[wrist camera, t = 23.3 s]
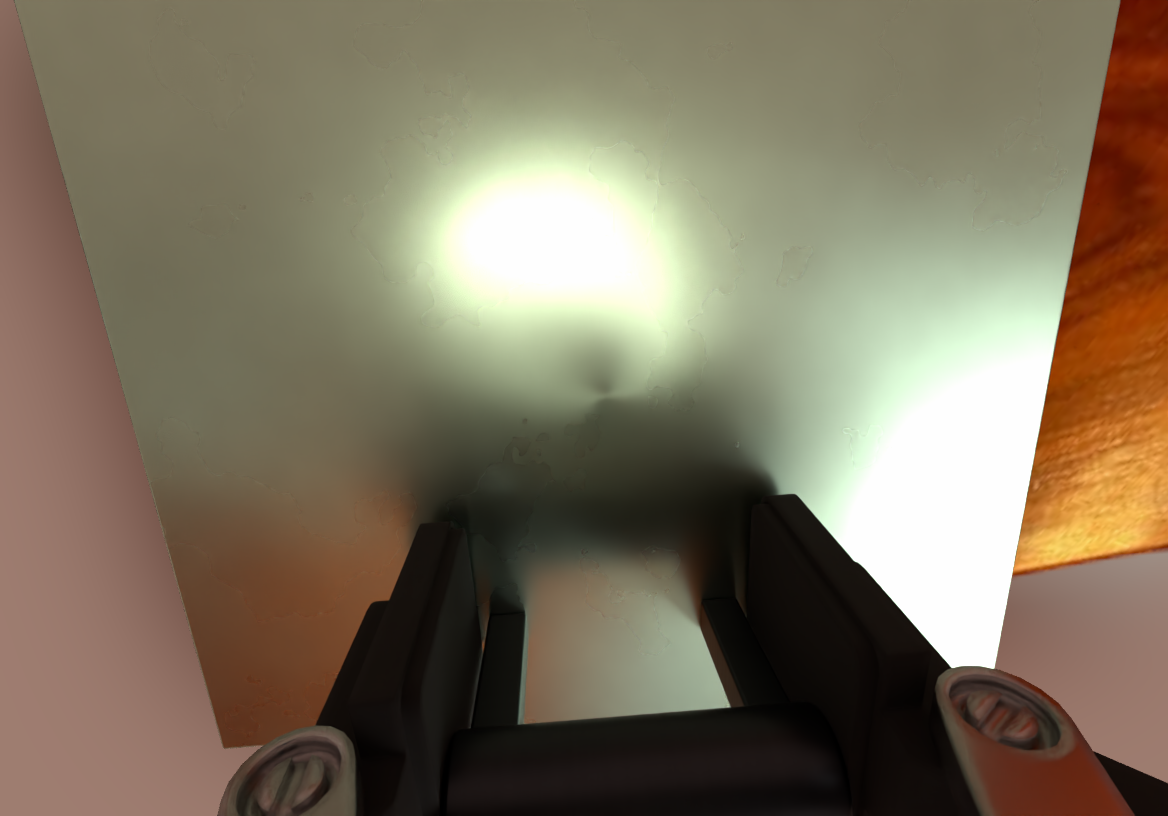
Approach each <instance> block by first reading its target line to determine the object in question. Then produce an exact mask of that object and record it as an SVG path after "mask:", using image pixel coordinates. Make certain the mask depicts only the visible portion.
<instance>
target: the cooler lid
mask: <svg viewBox="0 0 1168 816" xmlns="http://www.w3.org/2000/svg"><path fill="white" fill-rule="evenodd" d="M14 3H15V6H16V10H17V13H18V17H19V20H20V24H21V28H22V31H23V35H24V38H25V41H26V45H27V49H28V53H29V56H30V60H31V63H32V67H33V71H34V74H35V78H36V81H37V85H38V88H39V92H40V96H41V99H42V103H43V106H44V110H45V113H46V117H47V121H48V124H49V127H50V131H51V135H52V138H53V142H54V146H55V149H56V153H57V156H58V160H59V163H60V167H61V171H62V174H63V178H64V181H65V185H66V189H67V192H68V196H69V199H70V203H71V206H72V210H73V214H74V217H75V221H76V224H77V228H78V231H79V235H80V239H81V242H82V245H83V249H84V253H85V257H86V260H87V264H88V267H89V271H90V274H91V278H92V281H93V285H94V289H95V292H96V296H97V299H98V303H99V306H100V310H101V314H102V317H103V321H104V325H105V328H106V332H107V335H108V339H109V342H110V346H111V350H112V353H113V357H114V360H115V364H116V367H117V371H118V374H119V378H120V381H121V385H122V389H123V392H124V396H125V400H126V403H127V407H128V410H129V414H130V417H131V421H132V425H133V428H134V432H135V435H136V439H137V442H138V446H139V450H140V453H141V457H142V460H143V464H144V468H145V471H146V474H147V478H148V482H149V485H150V489H151V492H152V496H153V500H154V503H155V507H156V511H157V514H158V517H159V521H160V525H161V528H162V532H163V536H164V539H165V543H166V546H167V550H168V553H169V557H170V561H171V564H172V568H173V571H174V575H175V578H176V582H177V586H178V589H179V593H180V596H181V600H182V604H183V607H184V611H185V614H186V618H187V621H188V625H189V628H190V632H191V636H192V639H193V643H194V646H195V650H196V653H197V657H198V661H199V664H200V668H201V671H202V675H203V678H204V682H205V686H206V689H207V693H208V696H209V700H210V704H211V707H212V710H213V714H214V718H215V721H216V725H217V729H218V732H219V736H220V739H221V743H222V746H223V748H224V749H228V748H241V747H254V746H264V745H266V744H267V743H269V742H271V741H272V740H274V739H275V738H277V737H279V736H281V735H284V734H286V733H288V732H291V731H293V730H296V729H300V728H305V727H310V726H315V725H316V722H317V720H318V718H319V716H320V713H321V711H322V709H323V707H324V705H325V702H326V700H327V698H328V696H329V693H330V691H331V689H332V687H333V685H334V682H335V680H336V678H337V676H338V673H339V671H340V669H341V667H342V665H343V662H344V660H345V658H346V656H347V653H348V651H349V649H350V647H351V645H352V642H353V640H354V638H355V636H356V633H357V631H358V629H359V627H360V625H361V622H362V620H363V618H364V616H365V613H366V611H367V609H368V608H369V606H370V604H371V603H373V602H375V601H385V600H389V599H390V597H391V594H392V592H393V589H394V587H395V584H396V582H397V579H398V577H399V574H400V572H401V569H402V567H403V564H404V562H405V560H406V557H407V555H408V552H409V550H410V547H411V545H412V542H413V540H414V537H415V535H416V532H417V530H418V527H419V526H420V524H422V523H435V522H447V521H452V522H453V523H454V526H455V529H460V528H464V529H465V532H466V536H467V543H468V550H469V557H470V564H471V571H472V578H473V585H474V592H475V598H476V605H477V612H478V619H479V626H480V633H481V640H482V647H483V656H482V662H481V668H480V675H479V681H478V687H477V693H476V699H475V705H474V711H473V717H472V723H471V728H466V729H460V730H458V731H457V732H455V733H454V735H453V737H452V740H451V743H450V745H449V749H448V753H447V757H446V763H445V769H444V777H443V787H442V802H441V816H853V813H852V798H851V790H850V785H849V779H848V775H847V771H846V767H845V763H844V760H843V757H842V754H841V751H840V748H839V745H838V743H837V740H836V738H835V735H834V733H833V731H832V729H831V727H830V725H829V723H828V721H827V720H826V718H825V716H824V715H823V714H822V712H821V711H820V710H819V709H818V708H817V707H816V706H815V705H813V704H811V703H808V702H805V701H802V702H790V700H789V699H788V697H787V695H786V693H785V691H784V689H783V687H782V685H781V683H780V681H779V679H778V677H777V675H776V674H775V672H774V670H773V668H772V666H771V664H770V662H769V660H768V658H767V656H766V654H765V652H764V650H763V649H762V647H761V645H760V643H759V641H758V639H757V637H756V635H755V633H754V631H753V629H752V627H751V626H750V624H749V622H748V620H747V596H748V575H749V553H750V531H751V512H752V507H753V505H756V504H761V500H762V498H763V497H764V496H771V495H783V494H796V495H797V496H798V497H799V498H800V499H801V500H802V501H803V502H804V503H805V505H806V506H807V507H808V508H809V509H810V510H811V512H812V513H813V514H814V515H815V516H816V517H817V518H818V520H819V521H820V522H821V523H822V524H823V525H824V527H825V528H826V529H827V530H828V531H829V532H830V534H831V535H832V536H833V537H834V538H835V539H836V540H837V542H838V543H839V544H840V545H841V546H842V547H843V549H844V550H845V551H846V552H847V553H848V554H849V555H850V557H851V558H852V559H853V560H854V561H855V562H858V563H859V564H861V565H862V566H863V567H864V568H865V569H866V570H867V571H868V573H869V574H870V575H871V576H872V577H873V578H874V579H875V581H876V582H877V583H878V584H879V585H880V586H881V587H882V589H883V590H884V591H885V592H886V593H887V594H888V595H889V597H890V598H891V599H892V600H893V601H894V602H895V603H896V604H897V606H898V607H899V608H900V609H901V610H902V611H903V612H904V614H905V615H906V616H907V617H908V618H909V619H910V620H911V622H912V623H913V624H914V625H915V626H916V627H917V628H918V630H919V631H920V632H921V633H922V634H923V635H924V636H925V638H926V639H927V640H928V641H929V642H930V643H931V644H932V646H933V647H934V648H935V649H936V650H937V651H938V652H939V654H940V655H941V656H942V657H943V658H944V659H945V660H946V662H947V663H948V664H949V665H950V666H951V667H952V668H954V667H958V666H983V667H988V668H993V669H995V664H996V659H997V653H998V648H999V643H1000V637H1001V632H1002V627H1003V621H1004V616H1005V611H1006V606H1007V600H1008V595H1009V589H1010V584H1011V579H1012V574H1013V568H1014V563H1015V558H1016V552H1017V547H1018V542H1019V536H1020V531H1021V526H1022V521H1023V515H1024V510H1025V505H1026V499H1027V494H1028V489H1029V483H1030V478H1031V473H1032V467H1033V462H1034V457H1035V451H1036V446H1037V441H1038V436H1039V430H1040V425H1041V420H1042V414H1043V409H1044V404H1045V398H1046V393H1047V388H1048V382H1049V377H1050V372H1051V367H1052V361H1053V356H1054V351H1055V345H1056V340H1057V335H1058V329H1059V324H1060V319H1061V313H1062V308H1063V303H1064V297H1065V292H1066V287H1067V282H1068V276H1069V271H1070V266H1071V260H1072V255H1073V250H1074V244H1075V239H1076V234H1077V228H1078V223H1079V218H1080V212H1081V207H1082V202H1083V197H1084V191H1085V186H1086V181H1087V175H1088V170H1089V165H1090V159H1091V154H1092V149H1093V143H1094V138H1095V133H1096V128H1097V122H1098V117H1099V112H1100V106H1101V101H1102V96H1103V90H1104V85H1105V80H1106V74H1107V69H1108V64H1109V58H1110V53H1111V48H1112V43H1113V37H1114V32H1115V27H1116V21H1117V16H1118V11H1119V5H1120V0H14Z"/></svg>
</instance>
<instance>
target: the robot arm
mask: <svg viewBox="0 0 1168 816" xmlns="http://www.w3.org/2000/svg"><path fill="white" fill-rule="evenodd" d="M747 620H748V622H749V624H750V626H751V627H752V629H753V631H754V633H755V635H756V637H757V639H758V641H759V643H760V645H761V647H762V649H763V650H764V652H765V654H766V656H767V658H768V660H769V662H770V664H771V666H772V668H773V670H774V672H775V674H776V675H777V677H778V679H779V681H780V683H781V685H782V687H783V689H784V691H785V693H786V695H787V697H788V699H789V700H790V702H802V701H805V702H808V703H811V704H813V705H815V706H816V707H817V708H818V709H819V710H820V711H821V712H822V714H823V715H824V716H825V718H826V720H827V721H828V723H829V725H830V727H831V729H832V731H833V733H834V735H835V738H836V740H837V743H838V745H839V748H840V751H841V754H842V757H843V760H844V763H845V767H846V771H847V775H848V779H849V785H850V790H851V798H852V813H853V816H1168V783H1166V782H1164V781H1161V780H1159V779H1157V778H1154V777H1152V776H1150V775H1147V774H1145V773H1143V772H1140V771H1138V770H1136V769H1133V768H1131V767H1129V766H1126V765H1124V764H1122V763H1119V762H1117V761H1115V760H1112V759H1110V758H1108V757H1106V756H1103V755H1101V754H1099V753H1096V752H1094V751H1092V749H1091V747H1090V746H1089V744H1088V743H1087V741H1086V740H1085V738H1084V737H1083V735H1082V734H1081V732H1080V731H1079V729H1078V728H1077V726H1076V725H1075V723H1074V722H1073V720H1072V719H1071V717H1070V716H1069V715H1068V714H1067V713H1066V711H1065V710H1064V709H1063V708H1062V707H1061V706H1060V704H1059V703H1058V702H1056V701H1055V700H1054V699H1053V698H1051V697H1050V696H1049V695H1047V694H1046V693H1045V692H1044V691H1042V690H1041V689H1039V688H1038V687H1036V686H1034V685H1032V684H1031V683H1029V682H1027V681H1025V680H1023V679H1022V678H1019V677H1017V676H1014V675H1012V674H1009V673H1006V672H1004V671H1001V670H997V669H993V668H988V667H983V666H958V667H954V668H952V667H951V666H950V665H949V664H948V663H947V662H946V660H945V659H944V658H943V657H942V656H941V655H940V654H939V652H938V651H937V650H936V649H935V648H934V647H933V646H932V644H931V643H930V642H929V641H928V640H927V639H926V638H925V636H924V635H923V634H922V633H921V632H920V631H919V630H918V628H917V627H916V626H915V625H914V624H913V623H912V622H911V620H910V619H909V618H908V617H907V616H906V615H905V614H904V612H903V611H902V610H901V609H900V608H899V607H898V606H897V604H896V603H895V602H894V601H893V600H892V599H891V598H890V597H889V595H888V594H887V593H886V592H885V591H884V590H883V589H882V587H881V586H880V585H879V584H878V583H877V582H876V581H875V579H874V578H873V577H872V576H871V575H870V574H869V573H868V571H867V570H866V569H865V568H864V567H863V566H862V565H861V564H859V563H858V562H855V561H854V560H853V559H852V558H851V557H850V555H849V554H848V553H847V552H846V551H845V550H844V549H843V547H842V546H841V545H840V544H839V543H838V542H837V540H836V539H835V538H834V537H833V536H832V535H831V534H830V532H829V531H828V530H827V529H826V528H825V527H824V525H823V524H822V523H821V522H820V521H819V520H818V518H817V517H816V516H815V515H814V514H813V513H812V512H811V510H810V509H809V508H808V507H807V506H806V505H805V503H804V502H803V501H802V500H801V499H800V498H799V497H798V496H797V495H796V494H783V495H771V496H764V497H763V498H762V500H761V504H756V505H753V507H752V512H751V531H750V553H749V575H748V596H747ZM482 656H483V647H482V640H481V633H480V626H479V619H478V612H477V605H476V598H475V592H474V585H473V578H472V571H471V564H470V557H469V550H468V543H467V536H466V532H465V529H464V528H460V529H455V526H454V523H453V522H452V521H447V522H435V523H422V524H420V526H419V527H418V530H417V532H416V535H415V537H414V540H413V542H412V545H411V547H410V550H409V552H408V555H407V557H406V560H405V562H404V564H403V567H402V569H401V572H400V574H399V577H398V579H397V582H396V584H395V587H394V589H393V592H392V594H391V597H390V599H389V600H385V601H375V602H373V603H371V604H370V606H369V608H368V609H367V611H366V613H365V616H364V618H363V620H362V622H361V625H360V627H359V629H358V631H357V633H356V636H355V638H354V640H353V642H352V645H351V647H350V649H349V651H348V653H347V656H346V658H345V660H344V662H343V665H342V667H341V669H340V671H339V673H338V676H337V678H336V680H335V682H334V685H333V687H332V689H331V691H330V693H329V696H328V698H327V700H326V702H325V705H324V707H323V709H322V711H321V713H320V716H319V718H318V720H317V722H316V725H315V726H310V727H305V728H300V729H296V730H293V731H291V732H288V733H286V734H284V735H281V736H279V737H277V738H275V739H274V740H272V741H271V742H269V743H267V744H266V745H264V746H263V747H261V748H260V749H258V750H257V751H256V752H255V753H254V754H253V755H252V756H251V757H249V758H248V759H247V760H246V761H245V762H244V763H243V764H242V765H241V766H240V768H239V769H238V771H237V772H236V773H235V774H234V776H233V777H232V779H231V780H230V781H229V783H228V785H227V787H226V790H225V792H224V795H223V797H222V799H221V803H220V807H219V811H218V815H217V816H441V802H442V787H443V777H444V769H445V763H446V757H447V753H448V749H449V745H450V743H451V740H452V737H453V735H454V733H455V732H457V731H458V730H460V729H466V728H471V723H472V717H473V711H474V705H475V699H476V693H477V687H478V681H479V675H480V668H481V662H482Z"/></svg>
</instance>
